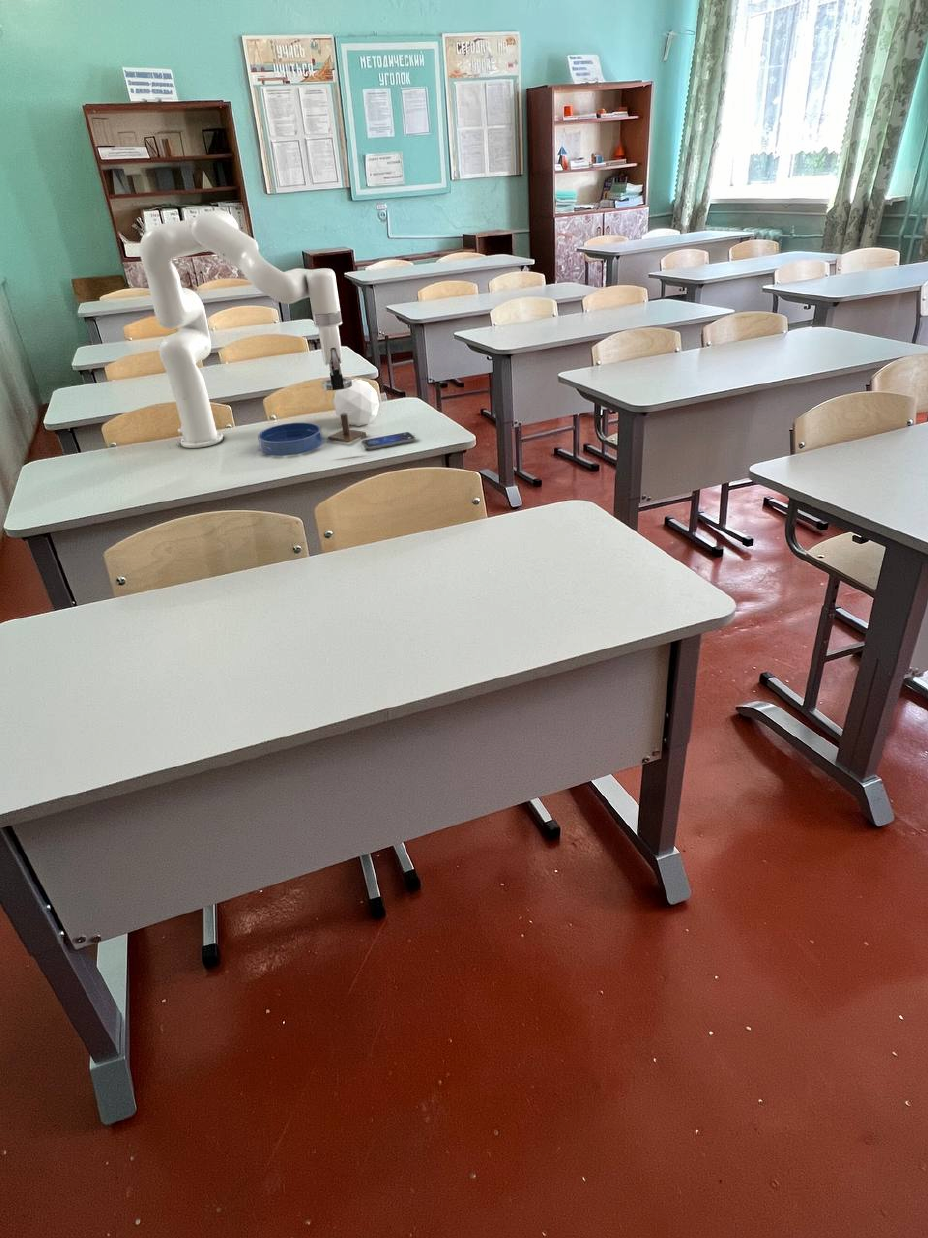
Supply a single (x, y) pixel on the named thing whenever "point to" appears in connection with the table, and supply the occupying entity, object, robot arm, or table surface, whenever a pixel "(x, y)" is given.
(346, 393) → the geodesic sphere
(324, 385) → the ring
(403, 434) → the smartphone
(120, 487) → the table surface
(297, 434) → the bowl
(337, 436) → the peg board base
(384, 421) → the table surface
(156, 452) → the table surface
